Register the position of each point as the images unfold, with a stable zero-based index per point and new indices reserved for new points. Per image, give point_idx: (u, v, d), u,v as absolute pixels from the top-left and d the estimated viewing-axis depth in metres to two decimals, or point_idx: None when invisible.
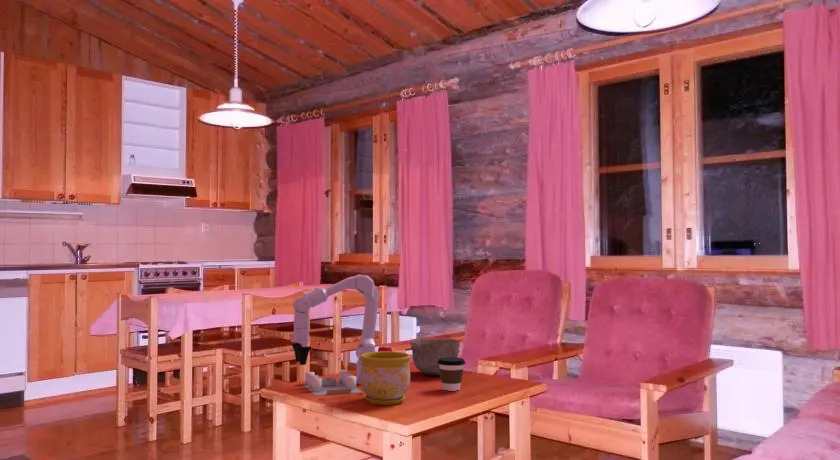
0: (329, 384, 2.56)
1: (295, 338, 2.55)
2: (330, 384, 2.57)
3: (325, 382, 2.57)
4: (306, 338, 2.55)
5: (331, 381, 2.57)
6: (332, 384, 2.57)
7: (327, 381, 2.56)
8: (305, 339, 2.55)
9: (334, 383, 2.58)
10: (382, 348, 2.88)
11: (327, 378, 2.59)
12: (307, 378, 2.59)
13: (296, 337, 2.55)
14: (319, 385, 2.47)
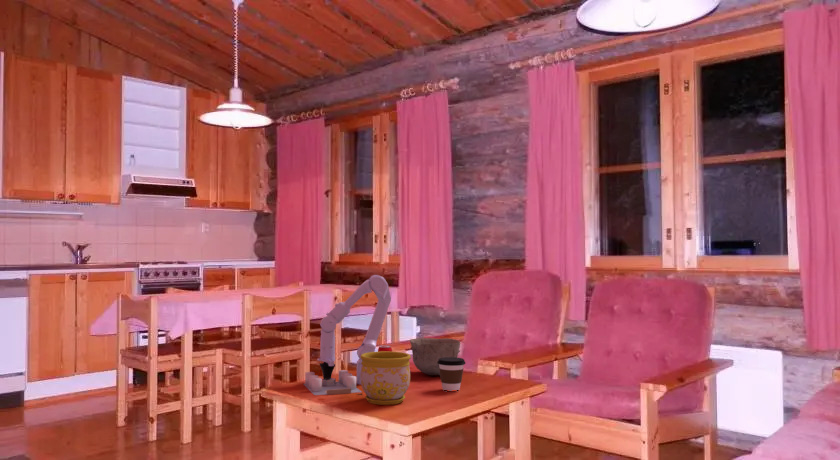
0: (329, 384, 2.56)
1: (322, 357, 2.60)
2: (330, 384, 2.56)
3: (325, 382, 2.56)
4: (332, 357, 2.60)
5: (331, 381, 2.57)
6: (332, 384, 2.57)
7: (327, 381, 2.56)
8: (331, 358, 2.60)
9: (334, 383, 2.58)
10: (382, 348, 2.88)
11: (327, 378, 2.59)
12: (307, 378, 2.59)
13: (323, 356, 2.60)
14: (319, 385, 2.47)
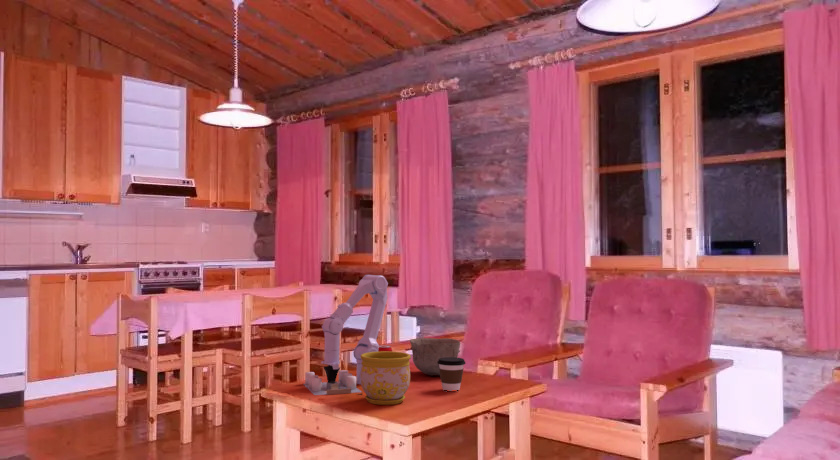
0: (334, 388, 2.49)
1: (326, 360, 2.53)
2: (335, 388, 2.49)
3: (329, 386, 2.49)
4: (337, 360, 2.53)
5: (336, 385, 2.49)
6: (337, 388, 2.50)
7: (332, 385, 2.49)
8: (336, 361, 2.53)
9: (339, 387, 2.51)
10: (382, 348, 2.88)
11: (332, 382, 2.52)
12: (307, 378, 2.59)
13: (327, 359, 2.53)
14: (319, 385, 2.47)
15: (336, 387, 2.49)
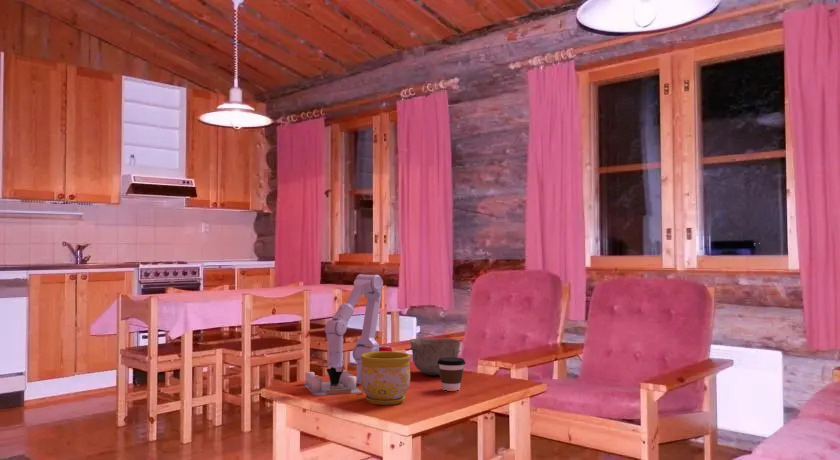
0: None
1: (329, 362, 2.48)
2: None
3: (333, 389, 2.45)
4: (340, 362, 2.49)
5: (339, 387, 2.45)
6: None
7: (335, 387, 2.44)
8: (339, 363, 2.48)
9: None
10: (382, 348, 2.88)
11: (335, 384, 2.47)
12: (307, 378, 2.59)
13: (330, 361, 2.48)
14: (319, 385, 2.47)
15: None
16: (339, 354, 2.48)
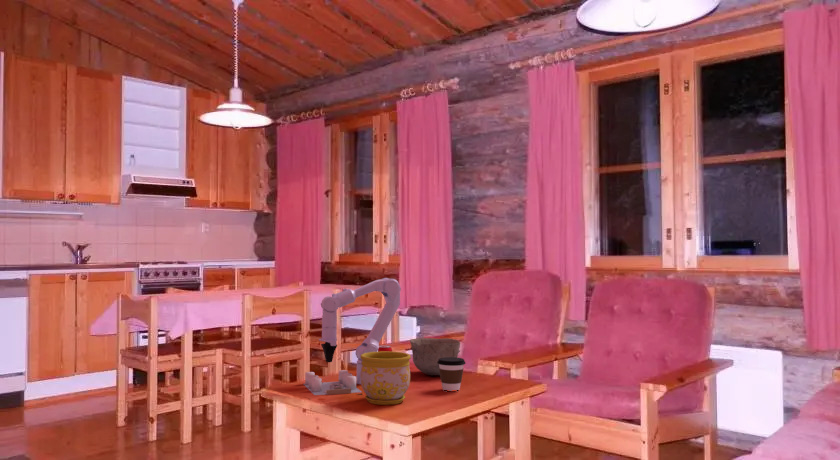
0: None
1: (323, 337, 2.58)
2: None
3: (333, 389, 2.45)
4: (334, 337, 2.58)
5: (339, 387, 2.45)
6: None
7: (335, 387, 2.44)
8: (333, 338, 2.58)
9: None
10: (382, 348, 2.88)
11: (335, 384, 2.47)
12: (307, 378, 2.59)
13: (324, 336, 2.57)
14: (319, 385, 2.47)
15: None
16: (333, 329, 2.58)
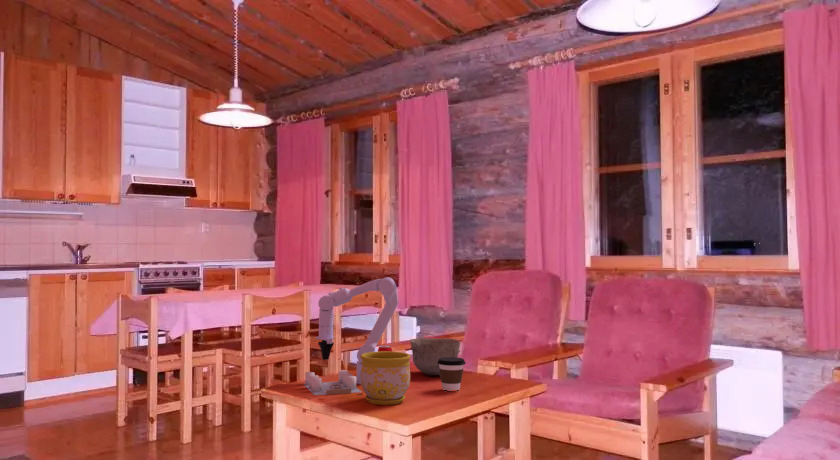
0: None
1: (320, 335, 2.63)
2: None
3: (333, 389, 2.45)
4: (331, 335, 2.64)
5: (339, 387, 2.45)
6: None
7: (335, 387, 2.44)
8: (330, 336, 2.63)
9: None
10: (382, 348, 2.88)
11: (335, 384, 2.47)
12: (307, 378, 2.59)
13: (321, 334, 2.63)
14: (319, 385, 2.47)
15: None
16: (330, 328, 2.63)
